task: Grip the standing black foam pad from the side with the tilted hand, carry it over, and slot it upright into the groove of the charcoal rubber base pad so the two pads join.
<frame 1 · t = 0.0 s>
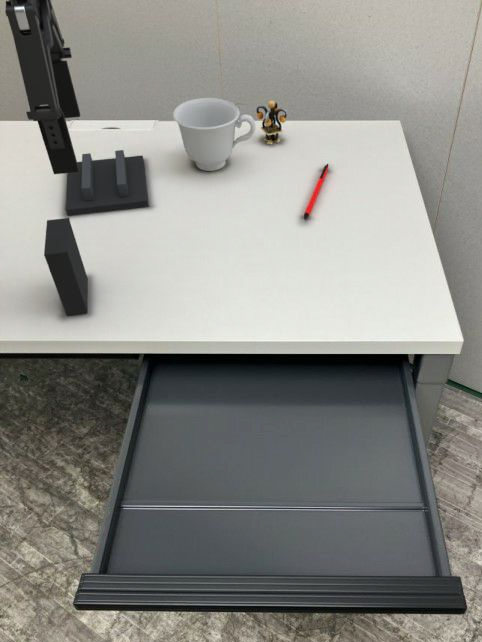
hand: (68, 142, 71), 24 cm above the table, tool pointing down, fingers open, 13 cm apart
base pad: (107, 186, 108), on the table
figurine: (271, 141, 120), on the table
teacup: (218, 164, 114), on the table
foam pad: (77, 296, 88), on the table
pen: (316, 194, 107), on the table
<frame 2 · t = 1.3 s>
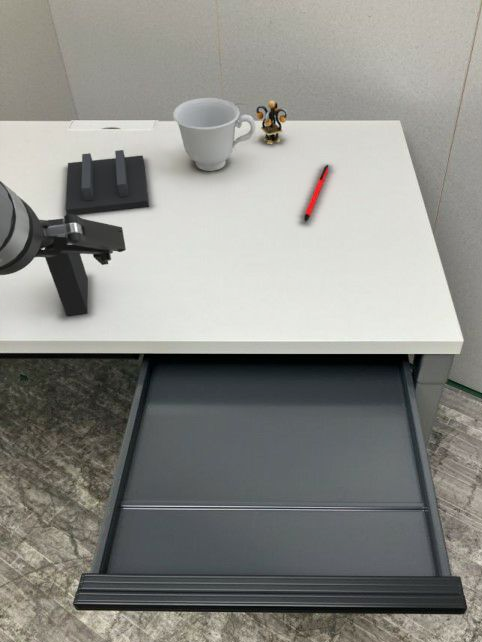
hand: (45, 260, 71), 15 cm above the table, tool tilted 45°, fingers open, 13 cm apart
nothing on the table moved.
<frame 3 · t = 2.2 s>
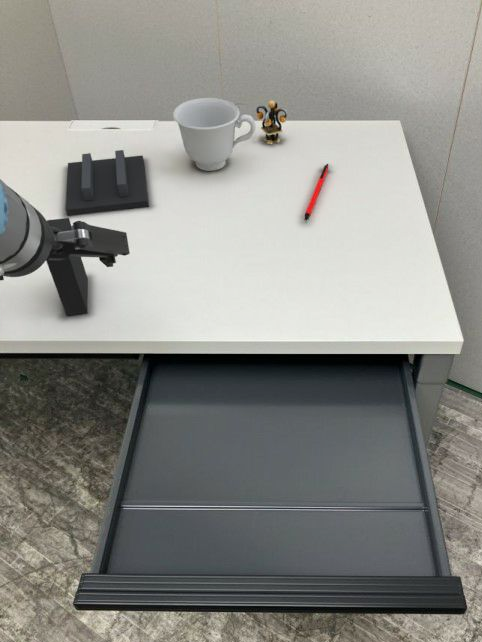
hand: (54, 263, 75), 12 cm above the table, tool tilted 45°, fingers open, 13 cm apart
nothing on the table moved.
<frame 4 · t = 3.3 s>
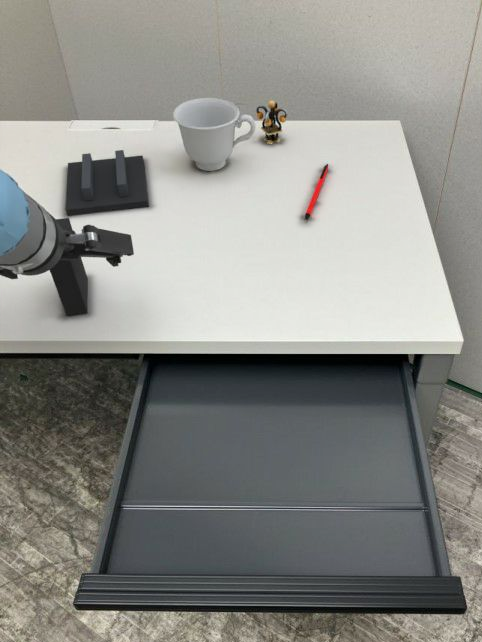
hand: (64, 262, 82), 8 cm above the table, tool tilted 45°, fingers open, 13 cm apart
nothing on the table moved.
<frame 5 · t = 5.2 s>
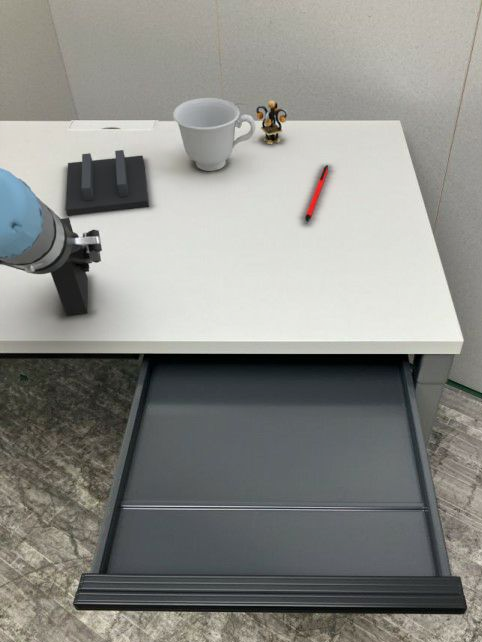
hand: (72, 264, 89), 3 cm above the table, tool tilted 45°, fingers closed on foam pad, 3 cm apart
foam pad: (77, 296, 88), on the table, touching gripper
everything else where it was.
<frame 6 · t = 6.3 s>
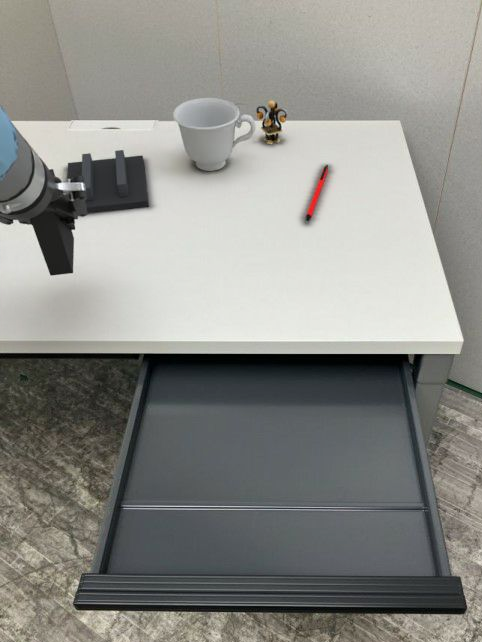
hand: (57, 221, 83), 11 cm above the table, tool tilted 45°, fingers closed on foam pad, 3 cm apart
foam pad: (62, 256, 83), point 7 cm above the table, touching gripper
everything else where it was.
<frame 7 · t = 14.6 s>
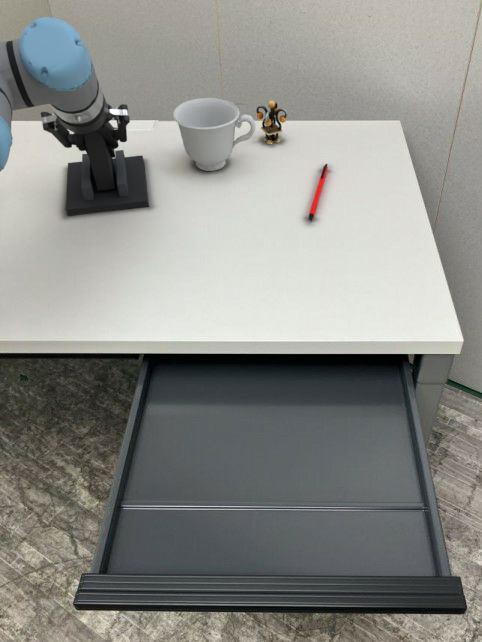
hand: (101, 151, 107), 5 cm above the table, tool tilted 45°, fingers closed on foam pad, 3 cm apart
foam pad: (106, 178, 107), point 2 cm above the table, touching gripper
everything else where it was.
when the fingers open (6 cm above the table, at t = 16.7 s): foam pad drops 1 cm, resting on base pad.
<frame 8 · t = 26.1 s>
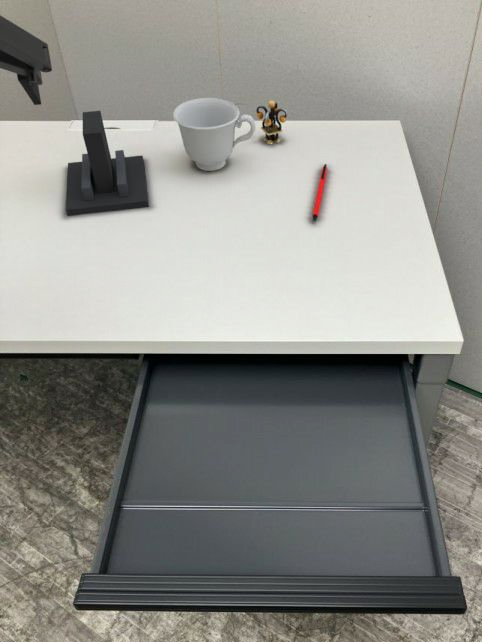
foam pad: (105, 181, 107), point 1 cm above the table, touching base pad
everything else where it was.
at the end: foam pad 0.1 cm off-centre on the base pad, point 1.2 cm above the base pad's base; foam pad tilted 0°; the gripper is holding nothing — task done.
